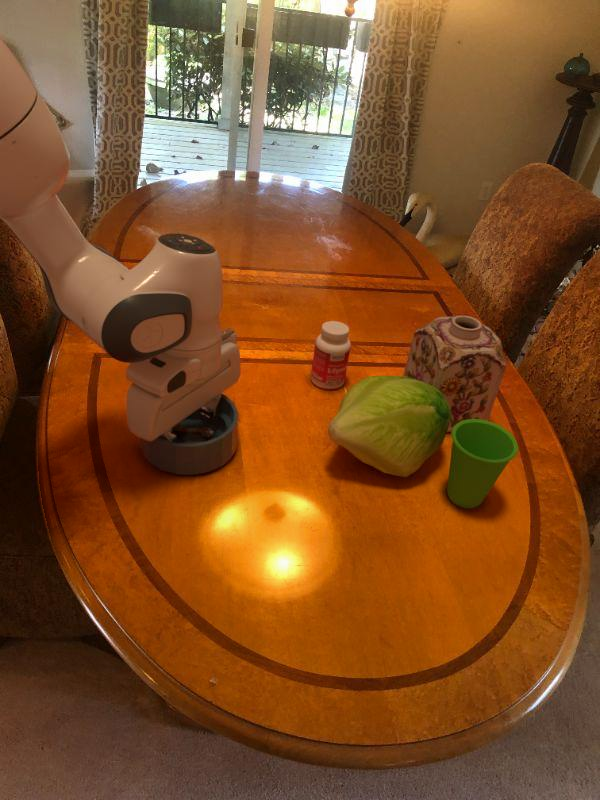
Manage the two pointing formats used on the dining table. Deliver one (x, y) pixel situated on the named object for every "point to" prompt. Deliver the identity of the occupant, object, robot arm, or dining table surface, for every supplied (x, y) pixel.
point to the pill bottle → (331, 355)
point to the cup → (477, 460)
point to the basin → (197, 443)
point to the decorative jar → (459, 364)
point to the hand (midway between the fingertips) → (189, 430)
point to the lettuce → (391, 423)
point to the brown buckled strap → (192, 432)
